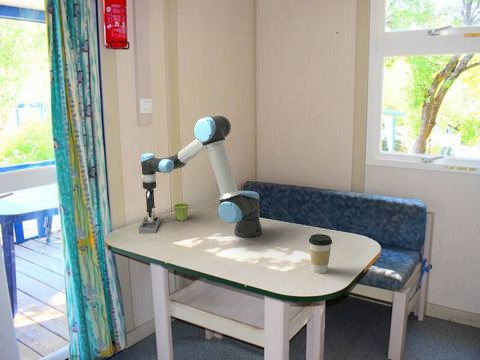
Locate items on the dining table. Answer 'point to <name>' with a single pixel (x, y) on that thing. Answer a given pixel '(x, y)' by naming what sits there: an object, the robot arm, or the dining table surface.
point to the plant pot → (181, 211)
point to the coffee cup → (320, 252)
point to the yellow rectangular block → (153, 216)
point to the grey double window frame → (149, 226)
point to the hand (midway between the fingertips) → (151, 220)
